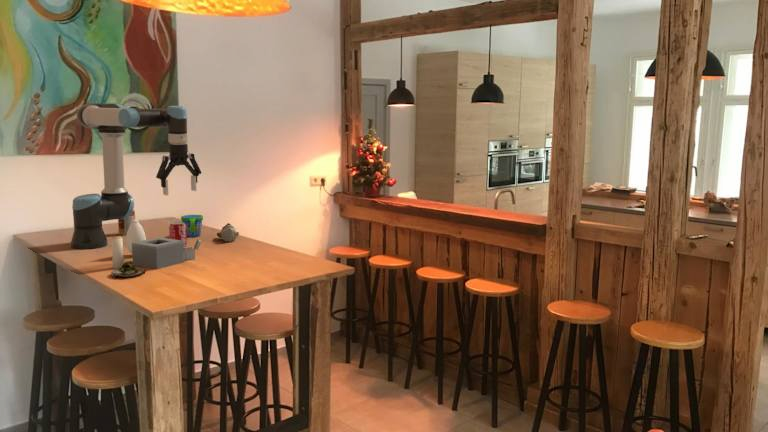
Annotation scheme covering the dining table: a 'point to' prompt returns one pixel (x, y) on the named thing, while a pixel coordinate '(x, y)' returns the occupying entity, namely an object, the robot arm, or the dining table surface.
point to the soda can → (178, 232)
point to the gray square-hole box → (157, 252)
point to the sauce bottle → (134, 234)
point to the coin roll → (117, 251)
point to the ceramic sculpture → (228, 233)
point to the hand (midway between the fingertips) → (180, 192)
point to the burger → (127, 270)
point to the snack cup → (192, 225)
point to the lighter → (191, 251)
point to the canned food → (125, 223)
